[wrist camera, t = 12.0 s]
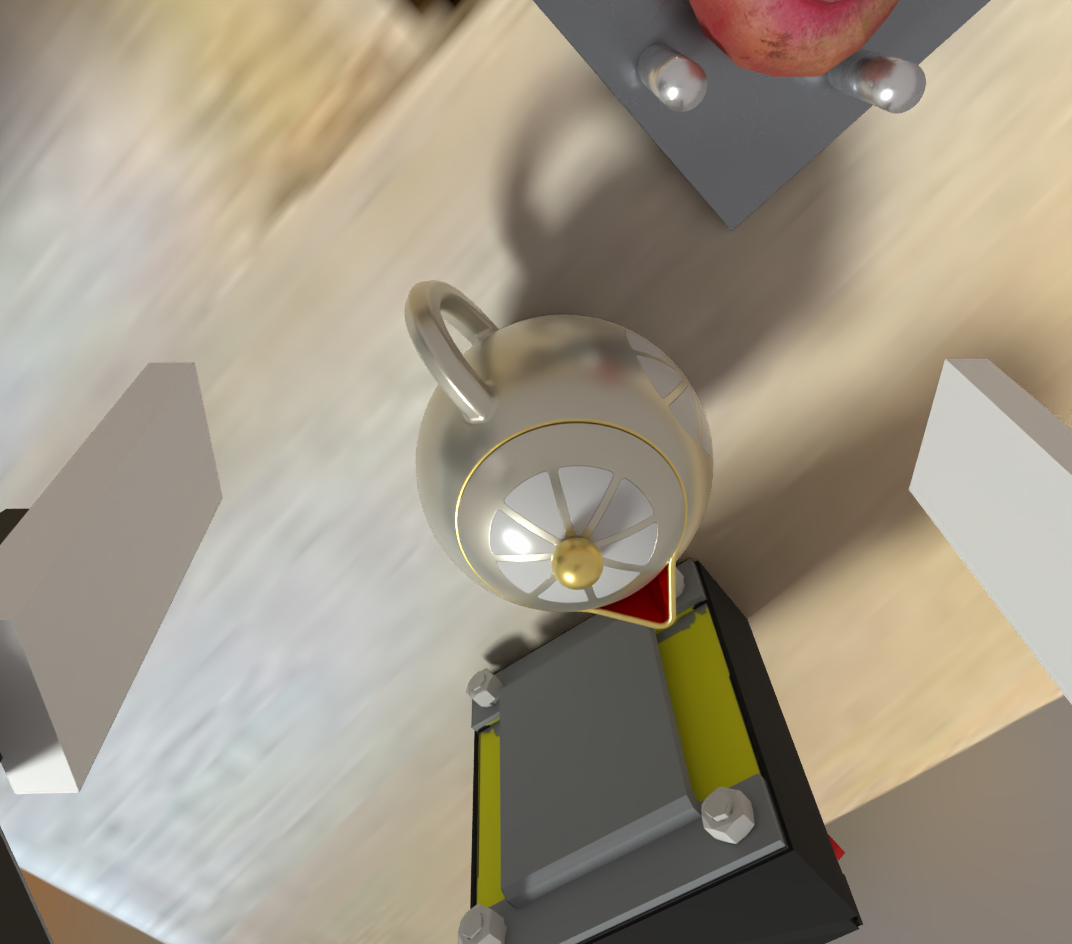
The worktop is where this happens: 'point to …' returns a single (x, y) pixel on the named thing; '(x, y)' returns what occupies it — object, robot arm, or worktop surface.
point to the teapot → (559, 458)
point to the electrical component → (646, 792)
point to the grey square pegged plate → (745, 89)
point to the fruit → (790, 32)
